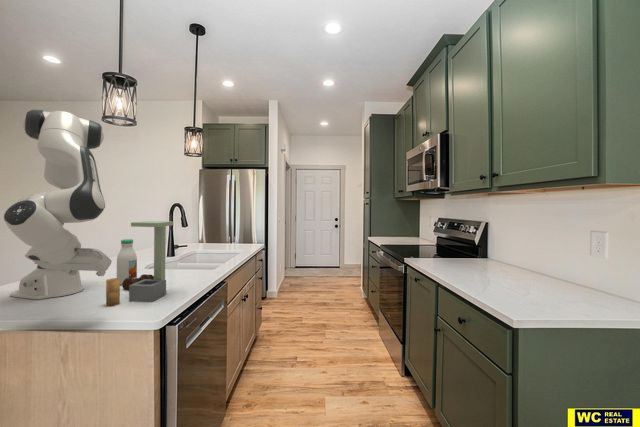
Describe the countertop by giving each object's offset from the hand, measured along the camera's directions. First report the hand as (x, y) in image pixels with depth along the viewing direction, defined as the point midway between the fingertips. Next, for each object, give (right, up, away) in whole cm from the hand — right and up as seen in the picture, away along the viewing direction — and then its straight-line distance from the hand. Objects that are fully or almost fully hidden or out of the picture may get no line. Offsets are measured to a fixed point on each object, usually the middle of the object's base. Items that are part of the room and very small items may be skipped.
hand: (88, 273), depth 94 cm
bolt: (-5, -13, +35) cm, 38 cm away
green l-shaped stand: (+8, -13, +22) cm, 27 cm away
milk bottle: (-13, -12, +38) cm, 43 cm away
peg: (0, -13, +11) cm, 17 cm away
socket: (+8, -13, +19) cm, 24 cm away
